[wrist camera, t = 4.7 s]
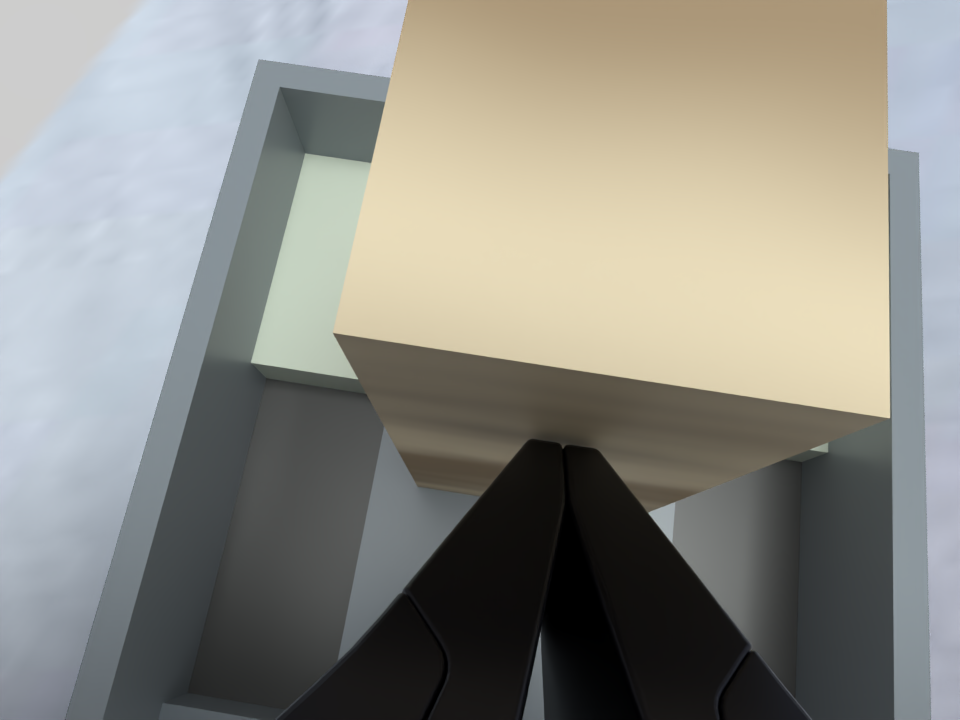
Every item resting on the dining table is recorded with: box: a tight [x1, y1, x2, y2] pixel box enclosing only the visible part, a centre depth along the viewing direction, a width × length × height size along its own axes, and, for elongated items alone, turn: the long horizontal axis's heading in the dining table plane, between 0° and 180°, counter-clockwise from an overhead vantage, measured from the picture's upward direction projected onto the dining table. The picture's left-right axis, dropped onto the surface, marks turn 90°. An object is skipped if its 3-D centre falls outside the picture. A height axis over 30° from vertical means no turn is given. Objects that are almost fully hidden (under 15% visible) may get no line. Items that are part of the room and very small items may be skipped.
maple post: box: [333, 0, 890, 512], centre depth 11 cm, size 4×4×10 cm
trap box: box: [65, 60, 931, 720], centre depth 15 cm, size 18×14×4 cm
